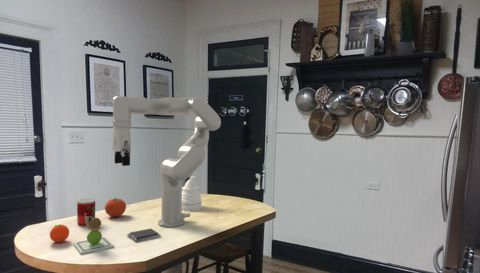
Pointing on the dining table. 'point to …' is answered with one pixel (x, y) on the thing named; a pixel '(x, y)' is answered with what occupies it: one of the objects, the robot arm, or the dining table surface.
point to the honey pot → (191, 196)
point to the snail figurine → (93, 230)
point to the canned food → (85, 211)
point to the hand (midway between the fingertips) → (122, 164)
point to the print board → (93, 246)
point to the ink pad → (143, 235)
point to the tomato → (115, 207)
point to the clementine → (59, 233)
